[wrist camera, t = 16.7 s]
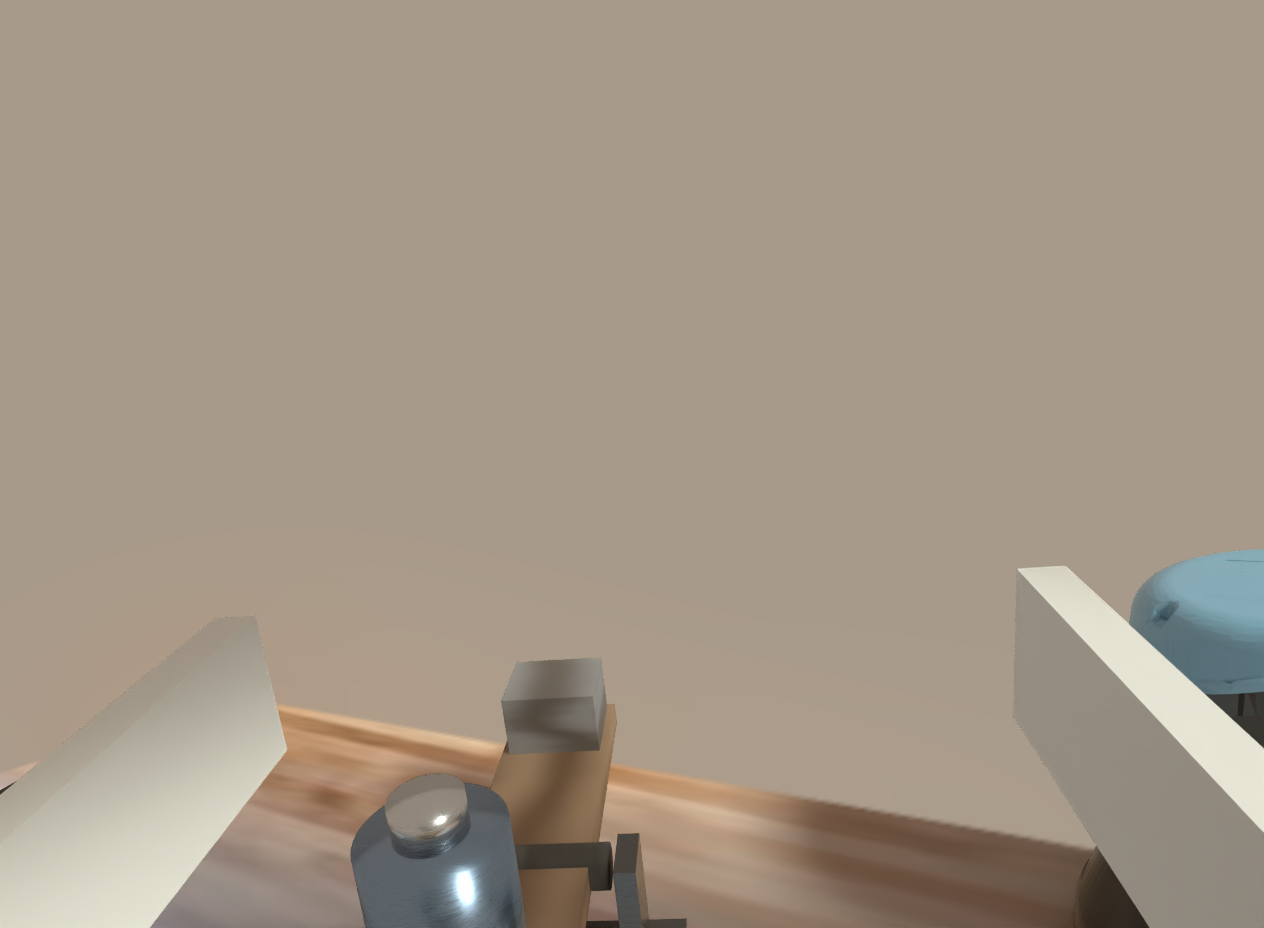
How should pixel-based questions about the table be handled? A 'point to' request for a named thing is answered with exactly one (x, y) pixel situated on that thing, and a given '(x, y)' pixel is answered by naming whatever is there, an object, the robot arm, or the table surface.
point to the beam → (557, 786)
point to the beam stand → (632, 890)
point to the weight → (438, 859)
